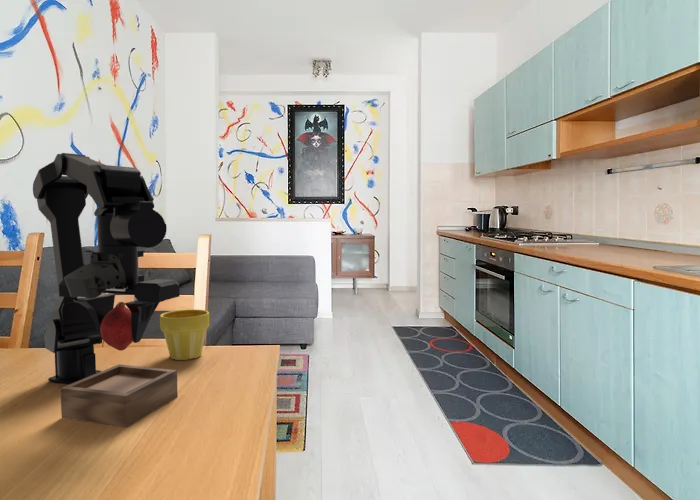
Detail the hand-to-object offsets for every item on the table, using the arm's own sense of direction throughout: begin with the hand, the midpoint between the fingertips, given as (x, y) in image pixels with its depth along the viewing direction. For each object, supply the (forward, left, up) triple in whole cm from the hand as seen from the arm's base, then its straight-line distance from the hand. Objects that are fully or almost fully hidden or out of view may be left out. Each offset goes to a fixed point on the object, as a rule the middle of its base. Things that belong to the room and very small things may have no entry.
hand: (120, 340), depth 74 cm
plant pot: (-7, +27, -11) cm, 30 cm away
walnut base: (0, 0, -11) cm, 11 cm away
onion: (0, 0, -2) cm, 2 cm away
